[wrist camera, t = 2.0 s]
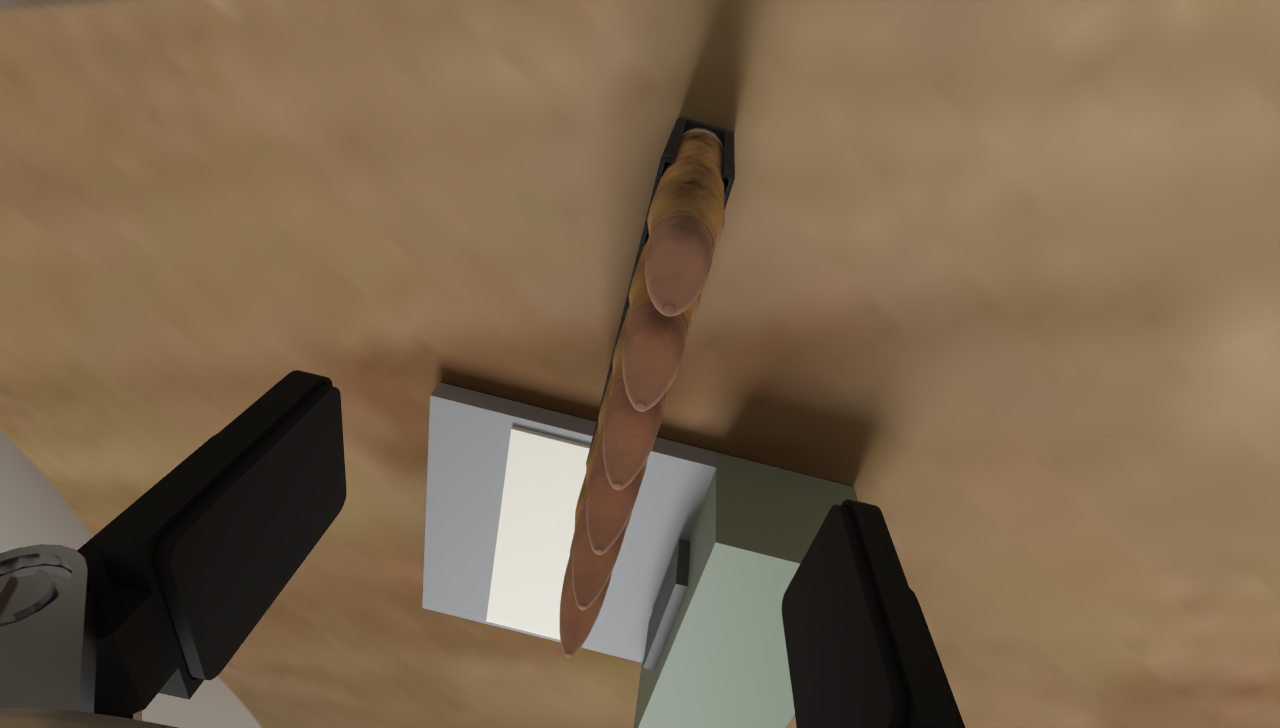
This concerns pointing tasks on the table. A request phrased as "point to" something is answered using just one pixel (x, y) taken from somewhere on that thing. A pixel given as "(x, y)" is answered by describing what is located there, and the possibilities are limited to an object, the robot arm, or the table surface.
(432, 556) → the plate with green block
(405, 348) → the table surface
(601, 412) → the ammunition clip
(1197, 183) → the table surface
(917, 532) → the table surface
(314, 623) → the table surface
